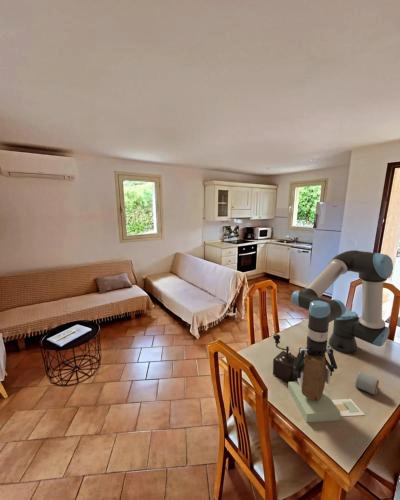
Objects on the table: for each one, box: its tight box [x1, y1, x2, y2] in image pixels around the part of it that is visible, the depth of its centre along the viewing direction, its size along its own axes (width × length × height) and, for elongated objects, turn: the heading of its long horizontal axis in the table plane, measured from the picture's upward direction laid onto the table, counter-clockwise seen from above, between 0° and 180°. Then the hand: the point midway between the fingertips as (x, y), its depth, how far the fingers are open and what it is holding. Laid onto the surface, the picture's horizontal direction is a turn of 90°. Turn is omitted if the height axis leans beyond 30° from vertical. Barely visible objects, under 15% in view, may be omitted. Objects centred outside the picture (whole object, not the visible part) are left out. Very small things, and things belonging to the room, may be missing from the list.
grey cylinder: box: [354, 370, 380, 396], centre depth 106 cm, size 11×8×8 cm
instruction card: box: [331, 398, 365, 418], centre depth 96 cm, size 10×8×1 cm
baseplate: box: [287, 380, 341, 423], centre depth 98 cm, size 14×17×4 cm
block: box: [301, 352, 327, 401], centre depth 96 cm, size 11×8×20 cm
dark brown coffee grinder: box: [272, 333, 298, 384], centre depth 116 cm, size 16×11×18 cm
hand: (313, 382), depth 97 cm, fingers closed on block, 11 cm apart
